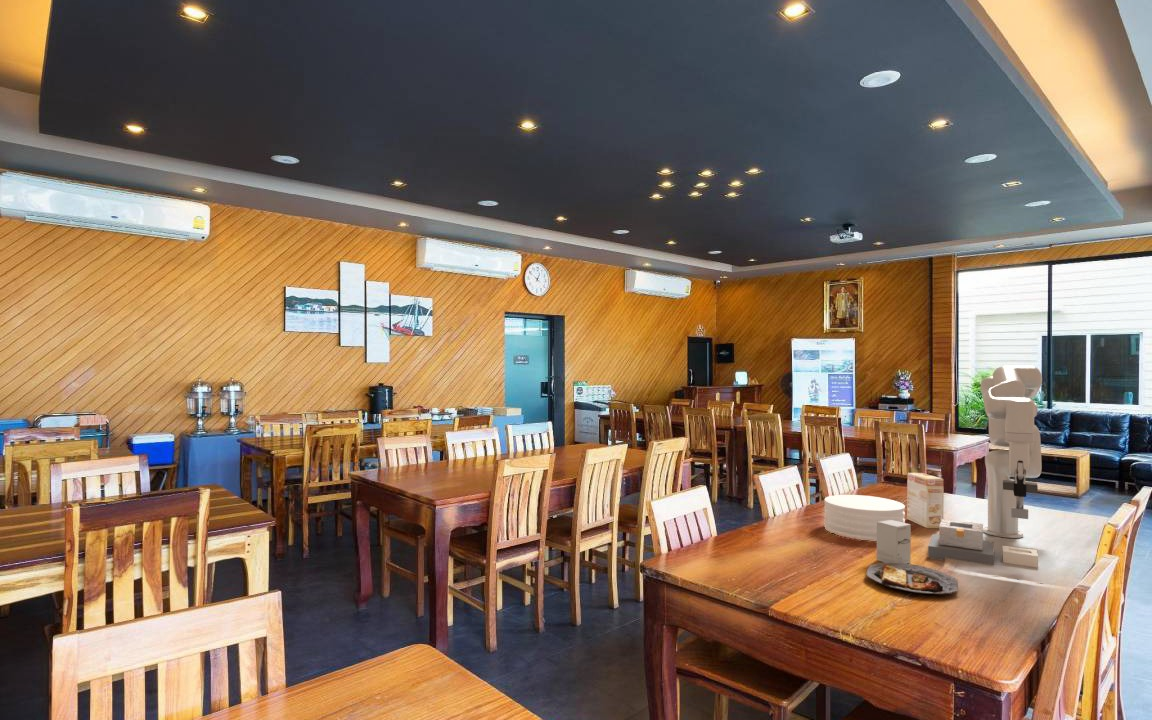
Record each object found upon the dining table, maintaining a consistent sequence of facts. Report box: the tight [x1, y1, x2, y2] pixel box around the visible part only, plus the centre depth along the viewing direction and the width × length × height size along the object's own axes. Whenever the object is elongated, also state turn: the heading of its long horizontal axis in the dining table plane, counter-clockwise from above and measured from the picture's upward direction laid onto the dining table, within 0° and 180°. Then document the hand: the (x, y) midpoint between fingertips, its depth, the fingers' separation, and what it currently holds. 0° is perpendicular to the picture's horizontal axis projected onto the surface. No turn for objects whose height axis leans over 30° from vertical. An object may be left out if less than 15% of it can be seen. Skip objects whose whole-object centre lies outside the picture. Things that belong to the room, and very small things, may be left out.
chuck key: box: [1003, 479, 1039, 520], centre depth 200 cm, size 5×9×11 cm, turn 56°
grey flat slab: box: [927, 533, 995, 566], centre depth 209 cm, size 18×18×4 cm
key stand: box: [1002, 545, 1039, 568], centre depth 200 cm, size 8×9×4 cm
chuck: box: [938, 518, 984, 550], centre depth 207 cm, size 15×12×6 cm
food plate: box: [865, 562, 959, 596], centre depth 181 cm, size 25×23×4 cm
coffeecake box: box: [906, 472, 945, 529], centre depth 252 cm, size 15×7×20 cm, turn 179°
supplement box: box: [876, 520, 912, 564], centre depth 202 cm, size 7×7×13 cm
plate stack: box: [823, 494, 906, 542], centre depth 239 cm, size 28×28×12 cm
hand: (1019, 494), depth 200 cm, fingers closed on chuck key, 4 cm apart
